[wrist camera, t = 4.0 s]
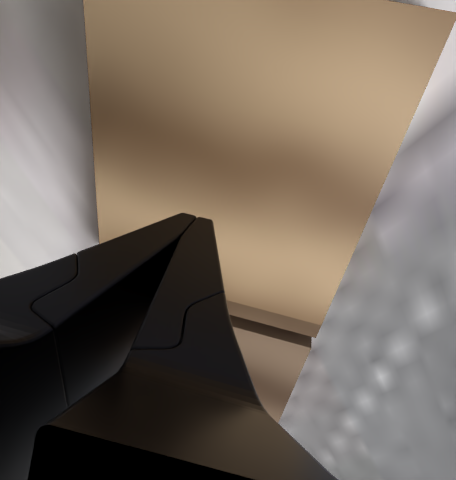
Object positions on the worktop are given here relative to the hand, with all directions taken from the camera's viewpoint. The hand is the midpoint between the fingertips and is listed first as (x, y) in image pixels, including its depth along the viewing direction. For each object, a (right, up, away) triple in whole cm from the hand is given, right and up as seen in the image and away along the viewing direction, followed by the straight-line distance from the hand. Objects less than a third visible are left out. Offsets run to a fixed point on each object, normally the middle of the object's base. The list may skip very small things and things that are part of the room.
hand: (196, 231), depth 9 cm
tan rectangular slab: (+1, +3, +5) cm, 6 cm away
